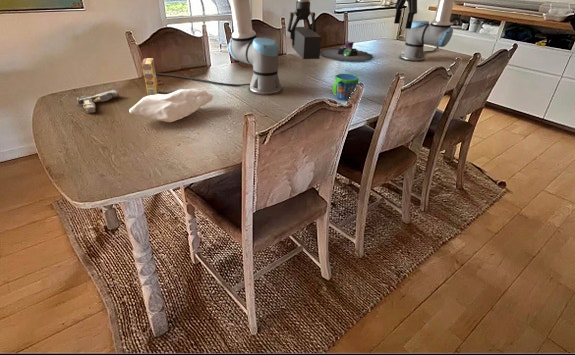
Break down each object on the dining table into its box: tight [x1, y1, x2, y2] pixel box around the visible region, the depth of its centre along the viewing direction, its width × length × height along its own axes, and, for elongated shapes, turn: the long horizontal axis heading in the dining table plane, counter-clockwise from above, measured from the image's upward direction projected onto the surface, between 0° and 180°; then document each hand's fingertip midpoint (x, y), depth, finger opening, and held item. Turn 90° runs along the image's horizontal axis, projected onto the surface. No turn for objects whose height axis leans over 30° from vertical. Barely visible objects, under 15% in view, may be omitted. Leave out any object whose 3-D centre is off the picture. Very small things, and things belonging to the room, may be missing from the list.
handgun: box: [76, 89, 120, 114], centre depth 155 cm, size 3×18×15 cm
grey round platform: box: [320, 40, 374, 62], centre depth 239 cm, size 35×35×9 cm
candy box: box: [141, 57, 160, 96], centre depth 163 cm, size 9×4×15 cm, turn 13°
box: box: [291, 26, 322, 60], centre depth 195 cm, size 27×9×11 cm, turn 12°
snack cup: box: [331, 73, 359, 101], centre depth 169 cm, size 16×10×10 cm
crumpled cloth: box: [129, 88, 214, 123], centre depth 147 cm, size 24×35×9 cm
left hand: (300, 45), depth 205 cm, fingers closed on box, 9 cm apart
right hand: (402, 26), depth 186 cm, fingers open, 13 cm apart
